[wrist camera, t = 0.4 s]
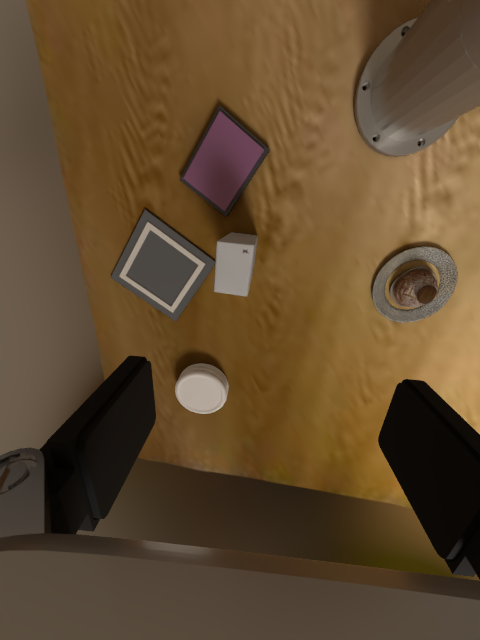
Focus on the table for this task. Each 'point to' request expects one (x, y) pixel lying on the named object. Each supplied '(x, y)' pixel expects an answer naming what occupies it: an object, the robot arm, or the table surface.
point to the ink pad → (224, 162)
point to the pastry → (416, 285)
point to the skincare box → (235, 263)
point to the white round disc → (202, 388)
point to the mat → (162, 266)
